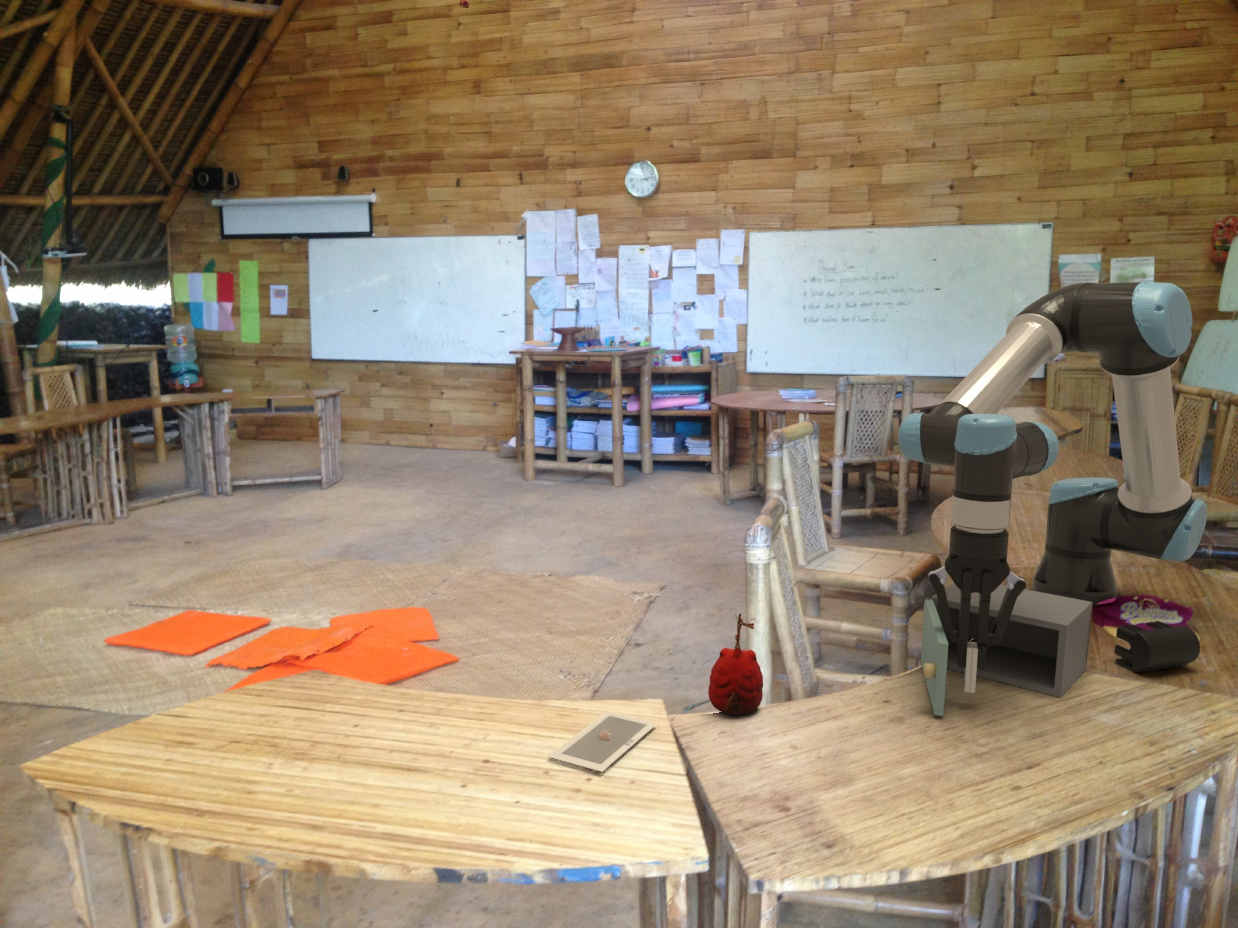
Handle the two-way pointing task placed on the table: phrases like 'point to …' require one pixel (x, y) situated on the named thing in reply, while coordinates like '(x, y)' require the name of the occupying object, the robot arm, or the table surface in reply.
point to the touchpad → (603, 741)
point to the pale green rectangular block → (934, 656)
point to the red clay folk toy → (736, 679)
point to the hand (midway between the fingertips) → (969, 688)
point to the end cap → (1156, 647)
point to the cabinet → (1029, 639)
